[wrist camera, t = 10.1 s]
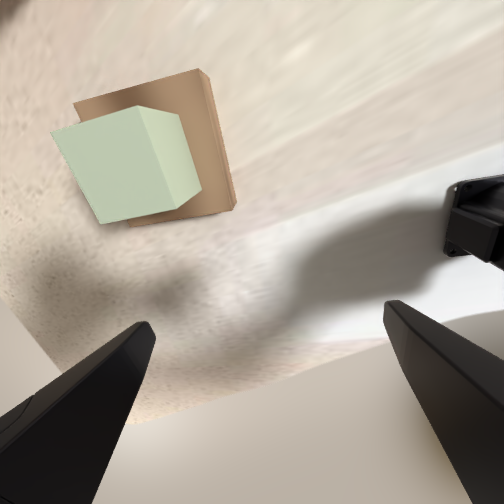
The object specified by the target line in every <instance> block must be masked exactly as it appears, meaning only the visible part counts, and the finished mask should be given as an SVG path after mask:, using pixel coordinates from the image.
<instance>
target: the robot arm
mask: <svg viewBox="0 0 504 504" xmlns="http://www.w3.org/2000/svg"><path fill="white" fill-rule="evenodd" d="M467 185H468V187H467V189H465V190H464V188H465V186H467ZM451 250H453V251H452V252H450V251H451ZM444 253H445V254H446V255H447V256H449V257H455V256H465V255H473V256H475V257H477V258H478V259H480V260H481V261H483V262H485V263H491V264H492V265H494V266H496V267H497V268H499V269H501V270H503V271H504V174H502V175H496V176H490V177H483V178H477V179H471V180H465V181H462V182H461V183H460V184H459V185H458V186H457V190H456V194H455V199H454V204H453V209H452V211H451V214H450V219H449V224H448V229H447V233H446V242H445V246H444ZM383 323H384V326H385V329H386V331H387V334H388V336H389V339H390V341H391V343H392V346H393V349H394V351H395V354H396V356H397V359H398V361H399V364H400V366H401V368H402V371H403V373H404V374H405V377H406V379H407V380H408V382H409V384H410V386H411V388H412V390H413V392H414V394H415V395H416V398H417V399H418V401H419V403H420V405H421V407H422V409H423V411H424V413H425V415H426V416H427V418H428V420H429V422H430V424H431V426H432V428H433V430H434V432H435V433H436V435H437V437H438V439H439V441H440V443H441V445H442V447H443V449H444V451H445V452H446V454H447V456H448V458H449V460H450V462H451V463H452V466H453V468H454V469H455V471H456V473H457V475H458V477H459V479H460V481H461V483H462V485H463V486H464V488H465V490H466V492H467V494H468V496H469V498H470V500H471V502H472V503H473V504H504V360H502V359H500V358H498V357H497V356H495V355H493V354H492V353H489V352H488V351H486V350H485V349H483V348H481V347H479V346H477V345H476V344H474V343H472V342H471V341H469V340H467V339H466V338H464V337H462V336H460V335H459V334H457V333H455V332H454V331H452V330H450V329H448V328H447V327H445V326H443V325H441V324H440V323H438V322H436V321H435V320H433V319H431V318H429V317H428V316H426V315H424V314H422V313H421V312H419V311H417V310H415V309H414V308H412V307H410V306H409V305H407V304H405V303H403V302H402V301H400V300H391V301H386V302H385V304H384V314H383ZM155 341H156V336H155V333H154V332H153V330H152V328H151V326H150V324H149V323H148V322H147V321H141V322H136V323H135V324H133V325H132V326H130V327H129V328H127V329H126V330H125V331H123V332H122V333H120V334H119V335H117V336H116V337H115V338H113V339H112V340H110V341H109V342H107V343H106V344H105V345H103V346H102V347H100V348H99V349H97V350H96V351H95V352H93V353H92V354H90V355H89V356H87V357H86V358H85V359H83V360H82V361H80V362H79V363H77V364H76V365H75V366H73V367H72V368H70V369H69V370H67V371H66V372H65V373H63V374H62V375H61V376H59V377H58V378H56V379H55V380H53V381H52V382H51V383H49V384H48V385H46V386H45V387H43V388H42V389H40V390H39V391H38V392H36V393H35V395H32V396H30V397H29V398H28V399H26V400H25V401H23V402H22V403H21V404H19V405H17V406H16V407H15V408H13V409H12V410H10V411H9V412H7V413H6V414H4V415H3V416H1V417H0V504H92V502H93V499H94V497H95V495H96V492H97V490H98V487H99V485H100V483H101V480H102V478H103V475H104V473H105V471H106V468H107V466H108V463H109V461H110V459H111V456H112V454H113V451H114V449H115V447H116V444H117V442H118V439H119V437H120V435H121V432H122V430H123V427H124V425H125V422H126V420H127V418H128V415H129V413H130V410H131V408H132V406H133V403H134V401H135V398H136V396H137V394H138V391H139V389H140V386H141V384H142V381H143V379H144V376H145V373H146V370H147V367H148V363H149V360H150V357H151V354H152V351H153V347H154V344H155Z"/></svg>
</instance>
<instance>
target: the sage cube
mask: <svg viewBox="0 0 504 504" xmlns="http://www.w3.org/2000/svg"><path fill="white" fill-rule="evenodd" d="M50 133H51V135H52V137H53V139H54V141H55V143H56V144H57V146H58V148H59V150H60V152H61V153H62V155H63V157H64V159H65V161H66V163H67V164H68V166H69V168H70V170H71V172H72V173H73V175H74V177H75V179H76V181H77V183H78V184H79V186H80V188H81V190H82V192H83V193H84V195H85V197H86V199H87V201H88V203H89V204H90V206H91V208H92V210H93V212H94V213H95V215H96V217H97V219H98V221H99V223H100V224H106V223H111V222H115V221H120V220H125V219H130V218H135V217H140V216H144V215H149V214H154V213H159V212H164V211H168V210H173V209H177V208H178V207H180V206H181V205H182V204H184V203H185V202H186V201H188V200H189V199H191V198H192V197H193V196H195V195H196V194H197V193H199V192H200V191H201V190H202V188H201V185H200V181H199V178H198V175H197V172H196V169H195V166H194V162H193V159H192V156H191V153H190V150H189V147H188V143H187V140H186V137H185V134H184V131H183V128H182V124H181V121H180V118H179V115H178V114H173V113H169V112H165V111H160V110H156V109H151V108H147V107H142V106H138V105H137V106H134V107H130V108H127V109H124V110H121V111H118V112H114V113H111V114H108V115H105V116H101V117H98V118H95V119H92V120H88V121H85V122H82V123H79V124H75V125H72V126H69V127H66V128H62V129H59V130H56V131H53V132H50Z"/></svg>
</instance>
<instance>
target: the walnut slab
mask: <svg viewBox="0 0 504 504" xmlns="http://www.w3.org/2000/svg"><path fill="white" fill-rule="evenodd" d="M73 105H74V107H75V109H76V111H77V113H78V115H79V118H80V120H81V122H85V121H88V120H92V119H95V118H98V117H101V116H105V115H108V114H111V113H114V112H118V111H121V110H124V109H127V108H130V107H134V106H137V105H138V106H142V107H147V108H151V109H156V110H160V111H165V112H169V113H173V114H178V115H179V118H180V121H181V124H182V128H183V131H184V134H185V137H186V140H187V143H188V147H189V150H190V153H191V156H192V159H193V162H194V166H195V169H196V172H197V175H198V178H199V181H200V185H201V188H202V190H201V191H200V192H199V193H197V194H196V195H195V196H193V197H192V198H191V199H189V200H188V201H186V202H185V203H184V204H182V205H181V206H180V207H178V208H177V209H173V210H168V211H164V212H159V213H154V214H149V215H144V216H140V217H135V218H130V219H127V221H128V224H129V226H130V227H135V226H141V225H147V224H153V223H159V222H165V221H171V220H178V219H184V218H190V217H196V216H202V215H208V214H214V213H221V212H227V211H232V210H233V208H234V206H235V205H236V203H237V200H236V196H235V191H234V187H233V182H232V178H231V173H230V169H229V164H228V160H227V155H226V151H225V146H224V142H223V137H222V133H221V128H220V124H219V119H218V115H217V110H216V106H215V101H214V97H213V93H212V88H211V84H210V79H209V77H208V76H207V75H206V74H204V73H203V72H202V71H201V70H200V69H199V68H197V69H194V70H190V71H187V72H183V73H180V74H176V75H172V76H169V77H165V78H162V79H158V80H155V81H151V82H147V83H144V84H140V85H137V86H133V87H130V88H126V89H122V90H119V91H115V92H112V93H108V94H104V95H101V96H97V97H94V98H90V99H87V100H83V101H79V102H76V103H73Z"/></svg>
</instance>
